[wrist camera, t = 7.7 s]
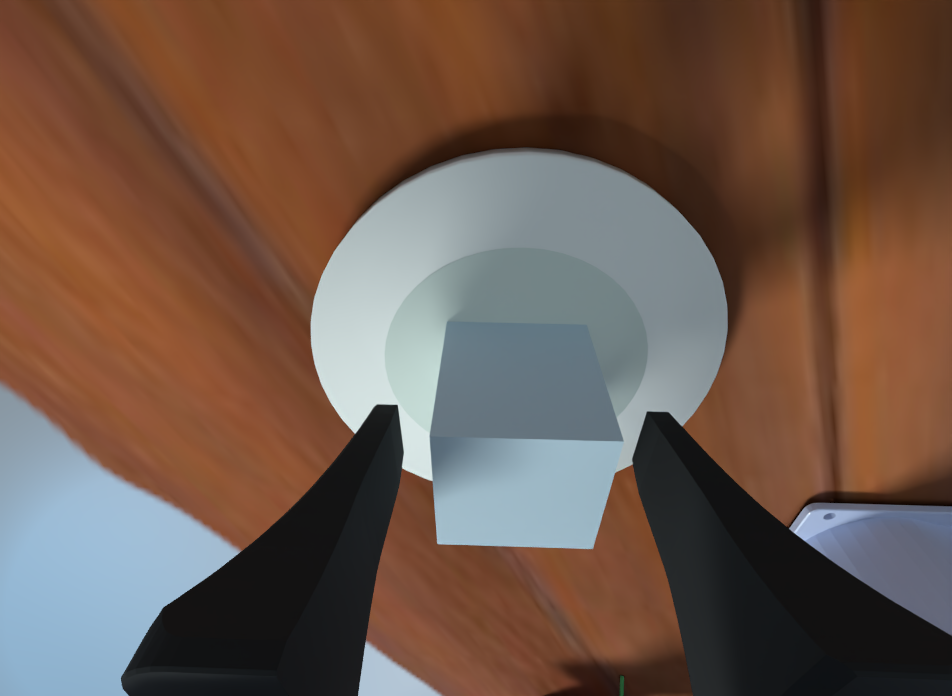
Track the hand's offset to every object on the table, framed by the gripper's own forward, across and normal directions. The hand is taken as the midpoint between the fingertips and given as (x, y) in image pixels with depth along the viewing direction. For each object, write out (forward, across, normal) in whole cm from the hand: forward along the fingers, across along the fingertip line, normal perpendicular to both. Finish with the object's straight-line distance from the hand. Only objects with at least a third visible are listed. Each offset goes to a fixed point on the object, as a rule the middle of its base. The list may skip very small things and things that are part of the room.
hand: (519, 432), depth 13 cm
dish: (+4, 0, 0) cm, 4 cm away
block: (+3, 0, 0) cm, 3 cm away
